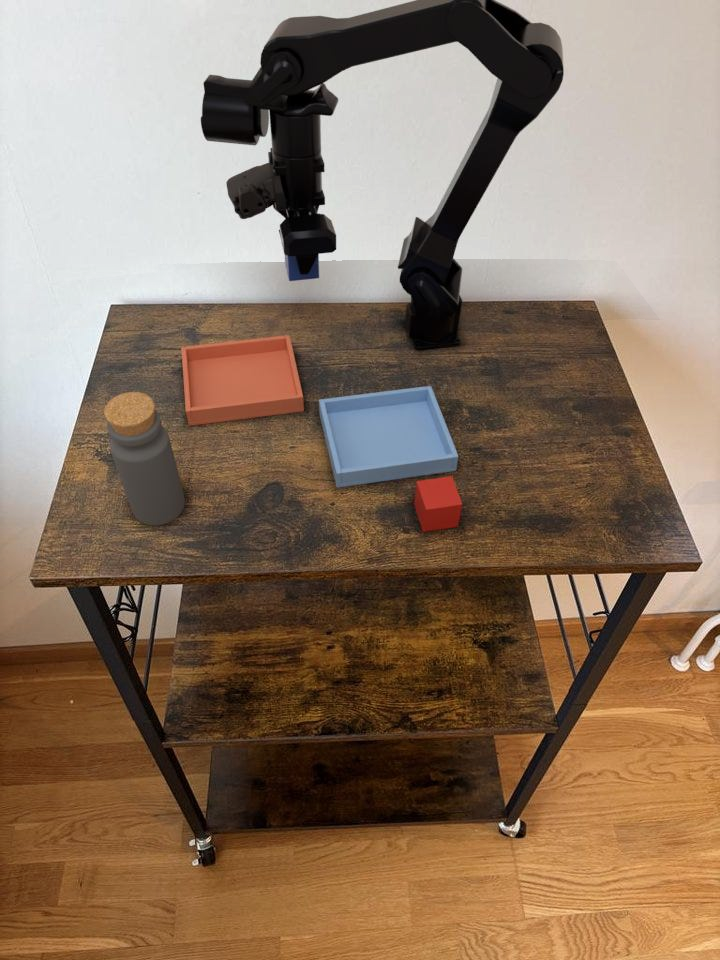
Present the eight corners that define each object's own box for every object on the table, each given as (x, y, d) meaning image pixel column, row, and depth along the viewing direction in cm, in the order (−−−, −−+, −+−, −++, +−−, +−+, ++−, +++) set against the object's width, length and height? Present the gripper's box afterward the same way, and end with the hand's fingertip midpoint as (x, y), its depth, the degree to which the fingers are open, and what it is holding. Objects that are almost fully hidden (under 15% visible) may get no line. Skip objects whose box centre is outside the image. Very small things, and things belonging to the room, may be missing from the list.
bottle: (174, 530, 79) (146, 434, 68) (123, 521, 80) (87, 424, 68) (193, 490, 83) (169, 392, 72) (144, 481, 84) (113, 383, 72)
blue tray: (429, 400, 93) (431, 385, 91) (456, 470, 86) (458, 456, 84) (319, 414, 91) (318, 399, 89) (336, 487, 84) (336, 473, 82)
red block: (448, 498, 83) (452, 475, 80) (458, 526, 80) (462, 504, 77) (413, 504, 82) (416, 481, 79) (422, 532, 80) (426, 509, 77)
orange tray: (290, 349, 99) (289, 334, 97) (304, 411, 92) (303, 396, 90) (184, 361, 97) (181, 346, 95) (189, 426, 89) (185, 411, 88)
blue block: (314, 261, 99) (313, 234, 96) (319, 278, 97) (318, 251, 94) (285, 264, 99) (283, 237, 96) (289, 281, 96) (287, 254, 93)
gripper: (220, 116, 90) (234, 232, 102) (234, 193, 78) (248, 313, 90) (310, 111, 91) (313, 225, 103) (336, 184, 80) (337, 304, 91)
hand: (301, 264), depth 97 cm, fingers closed on blue block, 4 cm apart
